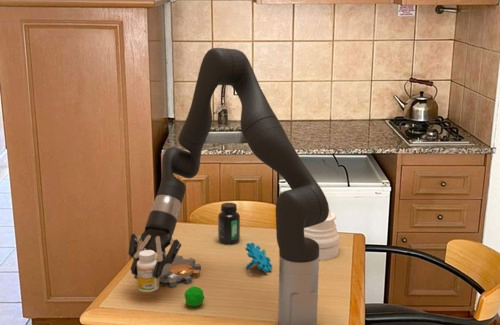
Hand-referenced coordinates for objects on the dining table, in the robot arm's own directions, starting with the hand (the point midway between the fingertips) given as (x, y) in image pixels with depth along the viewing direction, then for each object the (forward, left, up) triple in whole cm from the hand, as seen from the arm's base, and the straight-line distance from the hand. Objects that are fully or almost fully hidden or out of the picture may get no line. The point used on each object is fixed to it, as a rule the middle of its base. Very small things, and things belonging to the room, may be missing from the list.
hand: (144, 275), depth 160 cm
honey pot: (+19, -54, -7) cm, 57 cm away
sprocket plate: (+15, -8, -7) cm, 18 cm away
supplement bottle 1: (+1, -1, -5) cm, 5 cm away
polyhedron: (-6, -12, -7) cm, 15 cm away
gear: (+11, -33, -7) cm, 36 cm away
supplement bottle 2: (+34, -30, -7) cm, 45 cm away
